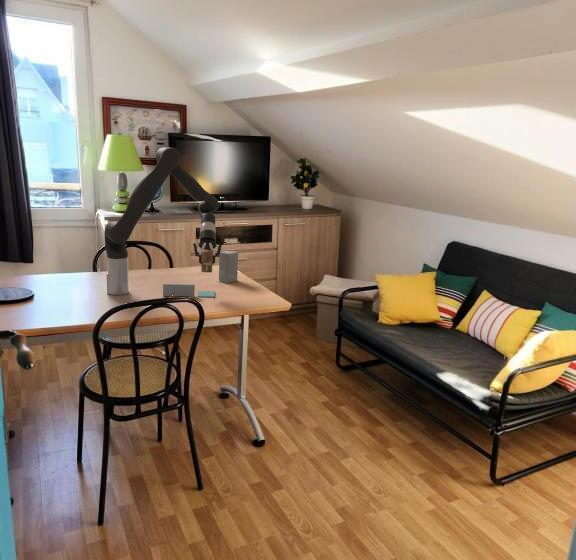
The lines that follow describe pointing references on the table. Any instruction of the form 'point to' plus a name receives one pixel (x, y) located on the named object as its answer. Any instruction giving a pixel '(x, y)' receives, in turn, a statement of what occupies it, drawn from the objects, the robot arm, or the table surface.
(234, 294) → the table surface
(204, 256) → the marked block
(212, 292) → the pad
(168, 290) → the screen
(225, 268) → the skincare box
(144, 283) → the table surface
